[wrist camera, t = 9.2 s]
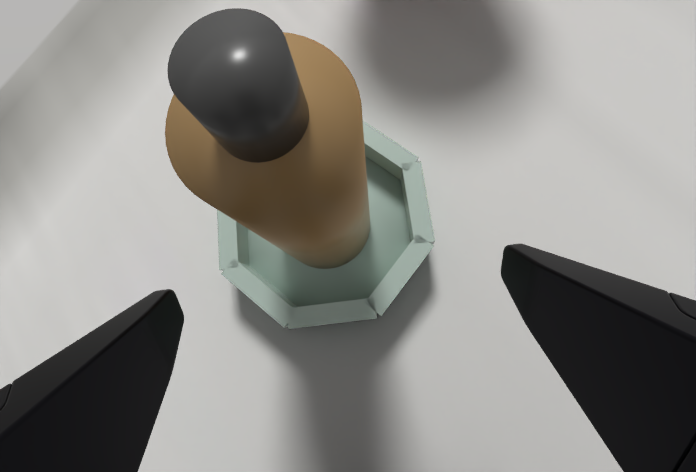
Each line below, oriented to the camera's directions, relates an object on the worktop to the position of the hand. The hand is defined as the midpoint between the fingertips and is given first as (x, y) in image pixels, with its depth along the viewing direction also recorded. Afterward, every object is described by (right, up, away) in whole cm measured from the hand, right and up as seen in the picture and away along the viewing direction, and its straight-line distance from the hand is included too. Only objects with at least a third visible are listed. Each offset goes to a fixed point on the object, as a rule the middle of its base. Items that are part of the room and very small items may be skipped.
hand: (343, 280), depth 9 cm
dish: (-1, +2, +11) cm, 11 cm away
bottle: (-1, +2, +10) cm, 10 cm away
